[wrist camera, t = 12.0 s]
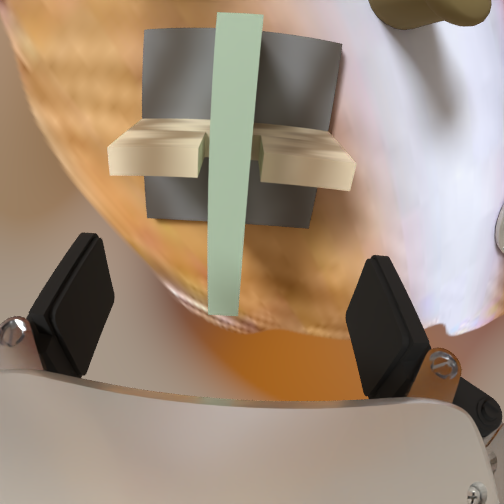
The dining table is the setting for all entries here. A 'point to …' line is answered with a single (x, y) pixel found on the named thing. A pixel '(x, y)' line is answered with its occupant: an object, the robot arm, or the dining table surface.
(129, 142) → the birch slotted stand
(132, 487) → the robot arm
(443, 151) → the dining table surface
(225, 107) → the green slotted plate
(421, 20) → the cork
